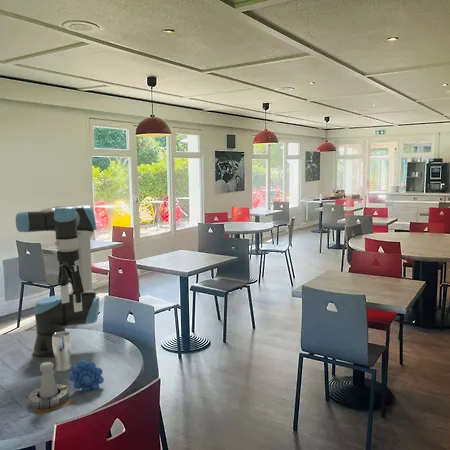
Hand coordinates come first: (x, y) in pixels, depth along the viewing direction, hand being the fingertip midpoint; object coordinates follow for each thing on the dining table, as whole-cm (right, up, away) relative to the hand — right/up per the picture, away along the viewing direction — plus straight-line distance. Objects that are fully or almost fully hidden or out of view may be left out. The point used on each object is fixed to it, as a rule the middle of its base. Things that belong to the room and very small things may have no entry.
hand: (71, 306), depth 168 cm
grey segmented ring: (-4, -29, -12) cm, 32 cm away
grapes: (+8, -30, -6) cm, 31 cm away
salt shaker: (-4, -30, -12) cm, 32 cm away
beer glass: (-7, -28, +13) cm, 31 cm away
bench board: (-3, -31, -12) cm, 33 cm away
